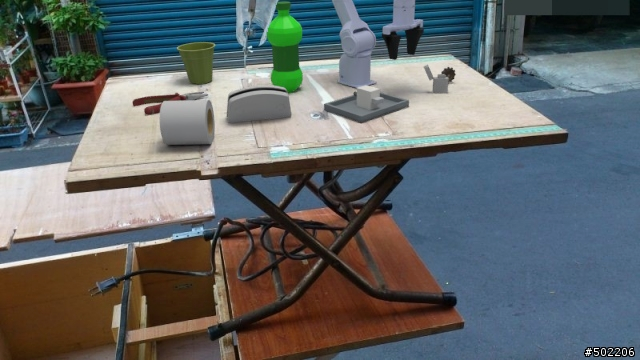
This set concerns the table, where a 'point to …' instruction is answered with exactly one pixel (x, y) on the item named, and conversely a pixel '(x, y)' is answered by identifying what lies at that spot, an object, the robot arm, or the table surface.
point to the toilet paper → (187, 122)
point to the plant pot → (198, 61)
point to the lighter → (438, 81)
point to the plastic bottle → (285, 48)
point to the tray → (352, 111)
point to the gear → (449, 73)
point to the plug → (368, 97)
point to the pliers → (162, 98)
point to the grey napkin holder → (258, 103)
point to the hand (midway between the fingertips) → (402, 56)
